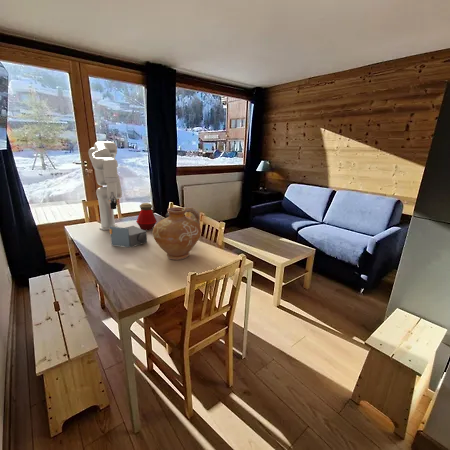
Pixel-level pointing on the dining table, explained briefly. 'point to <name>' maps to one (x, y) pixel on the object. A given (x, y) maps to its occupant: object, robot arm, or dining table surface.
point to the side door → (120, 236)
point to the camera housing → (136, 236)
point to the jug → (178, 232)
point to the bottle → (146, 217)
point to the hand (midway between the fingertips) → (114, 207)
